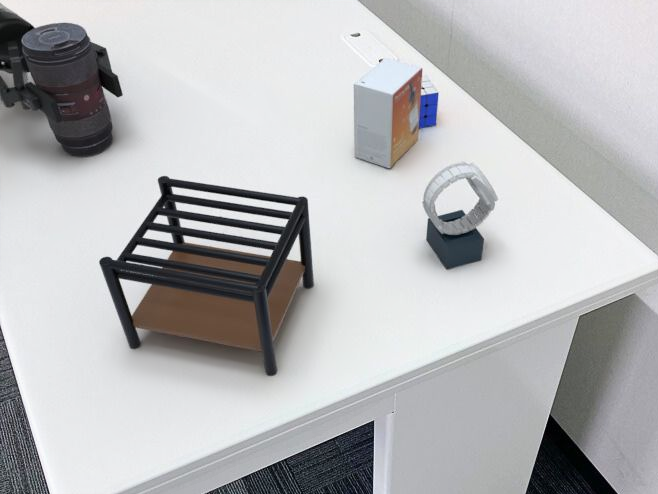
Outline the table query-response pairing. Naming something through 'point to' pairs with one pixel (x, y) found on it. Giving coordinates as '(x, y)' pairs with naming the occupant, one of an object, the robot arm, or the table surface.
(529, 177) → the table surface
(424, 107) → the rubik's cube
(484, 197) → the watch
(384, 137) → the small box
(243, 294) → the slatted rack
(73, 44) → the camera lens
